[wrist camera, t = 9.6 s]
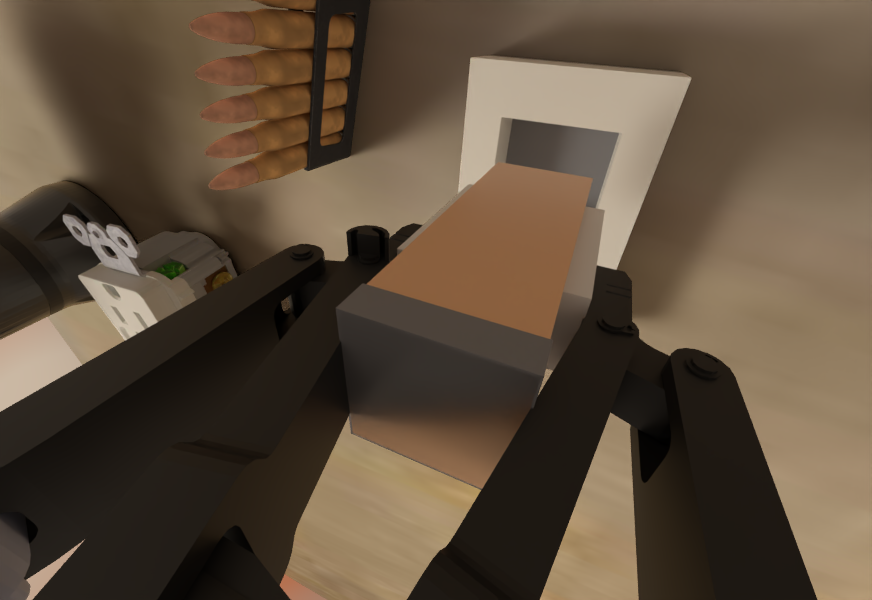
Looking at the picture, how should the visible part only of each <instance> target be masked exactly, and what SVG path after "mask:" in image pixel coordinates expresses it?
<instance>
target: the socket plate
mask: <svg viewBox="0 0 872 600" xmlns="http://www.w3.org/2000/svg"><path fill="white" fill-rule="evenodd" d="M690 81H691V77H690V76H688V75H686V74H684V73H683V72H678V71H667V70H656V69H644V68H633V67H622V66H610V65H599V64H588V63H577V62H565V61H554V60H543V59H531V58H520V57H509V56H498V55H488V56H479V57H471V59H470V70H469V81H468V91H467V102H466V113H465V124H464V134H463V145H462V156H461V167H460V177H459V188H458V193H459V192H461V191H462V190H463V189H464V188H465V187H466V186H467V185H468V184H472V185H474V184H475V183H476V182H477V181H478V180H479V179H480V178H482V177H483V176H484V175H485V174H486V173H487V172H488V171H489V170H490V169H491V168H492V167H493V166H494V165H496V164H497V163H498V162H502V163H508V164H513V165H519V166H525V167H531V168H537V169H542V170H548V171H554V172H560V173H566V174H572V175H577V176H583V177H589V178H593V180H592V184H591V188H590V191H589V195H588V199H587V203H586V207H591V208H596V209H602V210H605V212H604V219H603V226H602V233H601V240H600V246H599V253H598V260H597V265H598V266H602V267H606V268H611V269H615V270H616V269H617V267H618V264H619V262H620V259H621V257H622V254H623V252H624V249H625V247H626V244H627V241H628V239H629V236H630V234H631V231H632V229H633V226H634V224H635V221H636V219H637V216H638V213H639V211H640V208H641V206H642V203H643V201H644V198H645V196H646V193H647V191H648V188H649V185H650V183H651V180H652V178H653V175H654V173H655V170H656V168H657V165H658V163H659V160H660V157H661V155H662V152H663V150H664V147H665V145H666V142H667V140H668V137H669V134H670V132H671V129H672V127H673V124H674V122H675V119H676V117H677V114H678V112H679V109H680V106H681V104H682V101H683V99H684V96H685V94H686V91H687V89H688V86H689V84H690Z"/></svg>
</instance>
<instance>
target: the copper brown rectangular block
mask: <svg viewBox="0 0 872 600" xmlns="http://www.w3.org/2000/svg"><path fill="white" fill-rule="evenodd" d="M592 180H593V178H589V177H583V176H577V175H572V174H566V173H560V172H554V171H548V170H542V169H537V168H531V167H525V166H519V165H513V164H508V163H502V162H498V163H497V164H496V165H494V166H493V167H492V168H491V169H490V170H489V171H488V172H487V173H486V174H485V175H484V176H483V177H482V178H480V179H479V180H478V181H477V182H476V183H475V184H474V185H473V186H472V187H471V188H470V189H469V190H467V191H466V192H465V193H464V194H463V195H462V196H461V197H460V198H459V199H458V200H457V201H456V202H455V203H453V204H452V205H451V206H450V207H449V208H448V209H447V210H446V211H445V212H444V213H443V214H442V215H441V216H439V217H438V218H437V219H436V220H435V221H434V222H433V223H432V224H431V225H430V226H429V227H428V228H427V229H425V230H424V231H423V232H422V233H421V234H420V235H419V236H418V237H417V238H416V239H415V240H414V241H413V242H411V243H410V244H409V245H408V246H407V247H406V248H405V249H404V250H403V251H402V252H401V253H400V254H399V255H397V256H396V257H395V258H394V259H393V260H392V261H391V262H390V263H389V264H388V265H387V266H386V267H385V268H383V269H382V270H381V271H380V272H379V273H378V274H377V275H376V276H375V277H374V278H373V279H372V280H371V281H369V282H368V283H367V284H364V283H362V284H361V285H360V286H359V287H358V288H357V289H356V290H355V291H354V292H353V293H351V294H350V295H349V296H348V297H347V298H346V299H345V300H344V301H343V302H342V303H341V304H339V305H338V306H337V307H336V316H337V324H338V332H339V340H340V341H341V345H342V353H343V361H344V369H345V378H346V386H347V394H348V402H349V410H350V414H349V420H350V428H351V434H354V435H356V436H358V437H361V438H363V439H365V440H368V441H370V442H372V443H374V444H377V445H379V446H381V447H384V448H386V449H388V450H391V451H393V452H395V453H398V454H400V455H402V456H404V457H407V458H409V459H411V460H414V461H416V462H418V463H421V464H423V465H425V466H427V467H430V468H432V469H434V470H437V471H439V472H441V473H444V474H446V475H448V476H451V477H453V478H455V479H457V480H460V481H462V482H464V483H467V484H469V485H471V486H474V487H476V488H478V489H480V490H482V488H483V487H484V485H485V483H486V482H487V480H488V478H489V477H490V475H491V473H492V472H493V470H494V468H495V467H496V465H497V463H498V462H499V460H500V458H501V457H502V455H503V453H504V452H505V450H506V448H507V447H508V445H509V444H510V442H511V440H512V439H513V437H514V435H515V434H516V432H517V430H518V429H519V427H520V425H521V424H522V422H523V420H524V419H525V417H526V415H527V414H528V412H529V410H530V409H531V408H533V409H534V405H535V402H536V399H537V396H538V393H539V390H540V387H541V384H542V381H543V378H544V374H545V370H546V366H547V362H548V358H549V354H550V351H551V347H552V343H553V340H551V335H552V331H553V327H554V324H555V320H556V316H557V312H558V309H559V305H560V301H561V297H562V293H563V290H564V286H565V282H566V278H567V275H568V271H569V267H570V263H571V259H572V256H573V252H574V248H575V244H576V241H577V237H578V233H579V229H580V225H581V222H582V218H583V214H584V210H585V207H586V203H587V199H588V195H589V191H590V188H591V184H592Z"/></svg>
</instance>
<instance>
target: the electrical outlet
mask: <svg viewBox="0 0 872 600" xmlns="http://www.w3.org/2000/svg"><path fill="white" fill-rule="evenodd" d="M63 222H64V223H65V225H66V226H67V227H68V229H69V230H70V232H71V233H72V235H73V236H74V237H75V238H76V239H77V240H78V241H80V242H81V243H82V244H83V245H87V246H92V249H93V250H94V252H95V253H96V255H97V256H98V258H99V259H100V260H101V263H99V264H98V265H97V266H95V267H93V268H91V269H90V270H88V271H86V272H84V273H82V274H80V275H78V276H79V279H80V280H81V282H82V283H83V284H84V286H85V287H86V288H87V290H88V291H89V292H90V294H91V295H92V296H93V298H94V299H95V301H96V302H97V303H98V305H99V306H100V307H101V309H102V310H103V311H104V313H105V314H106V315H107V317H108V318H109V319H110V321H111V322H112V323H113V325H114V326H115V327H116V329H117V330H118V331H119V333H120V334H121V336H122V337H123V338H124V340H127V339H129V338H131V337H132V336H134V335H136V334H138V333H139V332H141V331H143V330H145V329H146V328H148V327H150V326H152V325H153V324H155V323H157V322H159V321H160V320H162V319H164V318H166V317H167V316H169V315H171V314H173V313H174V312H176V311H178V310H180V309H181V308H183V307H185V306H187V305H188V304H190V303H192V302H194V301H195V300H197V299H199V298H201V297H202V296H204V295H206V294H208V293H209V292H211V291H213V290H215V289H216V288H218V287H220V286H222V285H223V284H225V283H227V282H229V281H230V280H232V279H234V278H236V277H237V274H236V272H235V269H234V267H233V265H232V262H231V259H230V258H229V257H227V255H228V254H229V253H228V252H227V251H224V249H220V248H219V247H218V246H217V245H216V244H215V243H214V242H213V241H212V240H211V239H210V238H209V237H207V236H205V235H203V234H201V233H198V232H186V231H181V232H179V233H173V232H169V231H163V232H161V233H159V234H157V235H155V236H153V237H151V238H149V239H147V240H145V241H143V242H141V243H139V244H137V245H136V243H135V241H134V240H133V238H132V236H131V235H130V234H129V233H128V232H127V231H126V230H125V229H124V228H122V227H121V226H118V225H114V224H108V225H107V229H106V230H105V229H104V228H103V227H102V226H101V225H99V224H98V223H96V222H92V221H91V222H89V223H87V226H86V225H85V223H83V222H82V221H81V220H80V219H79V218H77V217H76V216H73V215H69V214H64V215H63ZM76 227H77V228H78V229H79V230H80V231H81V233H82V234H81V233H80V232H79V231H78V230H77V229H76ZM121 238H122V239H124V240H125V241H126V243H127V244H128V246H127V245H126V244H125V243H124V242H123V241H122V240H121ZM104 245H105V246H109V247H111V248H112V250H113V251H114V252H115V253H116V255H115V256H112V255H111V254H110V253H109V252H108V251H107V250H106V248H105V247H104Z"/></svg>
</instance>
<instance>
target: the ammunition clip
mask: <svg viewBox="0 0 872 600" xmlns="http://www.w3.org/2000/svg"><path fill="white" fill-rule="evenodd" d="M253 1H257V2H259V3H262V4H264V5H267V6H271V7H278V8H288V10H276V9H260V10H256V11H252V12H248V11H240V12H218V13H211V14H207V15H204V16H201V17H198V18H196V19H194V20H193V21H192V22H190V23H189V28H190V30H192V31H193V32H195V33H196V34H198V35H200V36H203V37H205V38H208V39H211V40H215V41H219V42H225V43H232V44H246V45H258V46H262V47H266V48H271V49H279V50H263V51H260V52H258V53H255V54H249V55H242V56H235V57H226V58H222V59H217V60H214V61H211V62H209V63H207V64H205V65H202V66H201V67H199V68H198V69H197V70H196V71H195V76H196V77H197V78H199V79H201V80H203V81H206V82H210V83H215V84H220V85H231V86H240V85H267V86H269V87H264V88H261V89H258V90H256V91H254V92H251V93H247V94H243V95H240V96H234V97H230V98H226V99H223V100H220V101H218V102H215V103H213V104H211V105H209V106H208V107H206V108H205V109H204V110H203V111H202V112H201V113H200V117H201V118H202V119H204V120H207V121H211V122H217V123H240V122H246V121H255V120H262V119H264V120H268V121H264V122H261V123H259V124H257V125H256V126H254V127H252V128H248V129H245V130H243V131H240V132H236V133H233V134H230V135H227V136H225V137H223V138H221V139H219V140H217V141H215V142H214V143H212V144H211V145H210V146H209V147H208V148H207V149H206V150H205V152H204V154H205V155H206V156H209V157H213V158H234V157H240V156H245V155H249V154H254V153H259V152H263V151H265V152H263V153H261V154H259V155H258V156H256V157H255V158H253V159H250V160H248V161H245V162H244V163H241V164H238V165H235V166H233V167H231V168H229V169H227V170H225V171H223V172H222V173H220V174H219V175H217V176H216V177H215V178H214V179H213V180H212V181H211V182H210V183H209V185H208V187H209V188H210V189H214V190H228V189H235V188H240V187H244V186H248V185H250V184H253V183H258V182H261V181H264V180H270V179H276V178H280V177H282V176H285V175H287V174H290V173H292V172H295V171H298V170H300V169H303V168H304V169H305V170H307V171H310V170H313V169H315V168H318V167H321V166H324V165H327V164H330V163H332V162H335V161H338V160H341V159H344V158H347V157H349V156H350V152H351V145H352V137H353V129H354V122H355V114H356V106H357V99H358V91H359V83H360V75H361V68H362V60H363V52H364V45H365V37H366V29H367V22H368V14H369V6H370V0H253ZM303 10H307V11H316V13H315V12H303ZM305 167H306V168H305Z"/></svg>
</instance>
